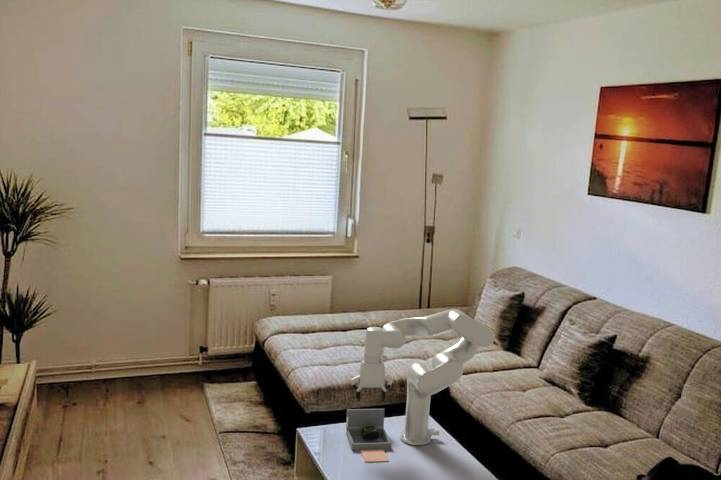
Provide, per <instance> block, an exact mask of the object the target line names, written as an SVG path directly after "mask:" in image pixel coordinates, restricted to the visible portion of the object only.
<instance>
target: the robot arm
mask: <svg viewBox="0 0 721 480" xmlns="http://www.w3.org/2000/svg"><path fill="white" fill-rule="evenodd" d="M451 332H453V333H455V334H456V335H457V336H460V337H461V339H459V341H458V342H456V343H455V344H454V345H451V346H450V347H448V348H446V349H444V350H442V351H439V352H438V353H437V354H435V355H434V356H433V357H432V358H431V366H432V368H430V366H428V365H427V364H426V363H424V362H419V361H416V362H414V363H413V364H411V365H410V366H409V367H408V370H407V372H406V392H407V393H406V405H405V419H404V430H403V431H401V432H400V434H399V438H400V440H401V441H402V442H404V443H405V444H408V445H412V446H424V445H425V446H426V445H428V444H430V443H431V442H432V436H440V431H439V430H435V428H429V421H430V408H431V407H430V406H431V396H432V395H434V394H438V393H439V392H441V391H443V390H444V389H446V388H448V387H450V386H452V385H453V384H455V383H457V382H458V381H459V380H460V379H461V378H462V376H463V374H464V366H463V365H465V364H466V363H468V362H469V361H471V360H472V359H473V358H474V357H475V355H476V353H477V352H478V349H479V347H480V348H484V349H485V348H489V347H490V346H492V345H493V343H494V342H495V340H496V339H495V338H496V337H495V336H496V335H495V333H494V330H493V329H492V328H490V327H489V326H488V325H486V324H484V323H482V322H481V321H479V320H476V319H474V318H472V317H471V316H470V315H468V314H467V313H464V312H462V311H461V310H460V309H457V308H450V309H447V310H443V311H440V312H436V313H433V314H430V315H426V316H422V317H421V316H418V317H417V316H416V317H407V318H401V319H397V320H394V321H389V322H388V323H385V324H384V325H383V326H382V327H378V326H370V327H368V328H366V330H365V338H364V340H365V341H364V351H363V359H362V360H361V361H360V366H359V370H358V375H357V376H355V377H353V378H351V379H349V382H350V384H351V386H352V388H353V389H354V391H355V395H354V396H355V399H356V400H357V402H361V390H362V389H363V388H381V389H380V394H379V395H380V396H379V397H380V398H379V399H380V401H381V402H384V400H385V399H386V393H387V391H388V390H389V389H390V388H391V386H392V384H393V383H394V381H393V379H392V378H390V377H388V376H386V370H385V369H386V367H385V365H386V364H385V361H384V360H387V355H384V352H385V350H384V349H385V348H387V349H395V350H396V349H400V348H403V347H404V345H405V344H406V342H407V341H406V340H407V339H406V337H409V336H417V337H422V338H433V337H437V336H440V335H443V334H447V333H451ZM357 381H358V382H357ZM355 382H357V385H356V383H355ZM386 382H387V383H386ZM385 383H386V385H385Z"/></svg>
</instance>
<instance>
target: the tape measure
mask: <svg viewBox="0 0 721 480" xmlns="http://www.w3.org/2000/svg"><path fill="white" fill-rule="evenodd" d="M361 434H362V435H361V437H362V439H363V440H366V441H367V440H374V439H375V440H376V439H380V437H381V434H379V431H378V429H377V428H376V427H375V426H372V425H368V426H364V427H363V428H362V431H361Z"/></svg>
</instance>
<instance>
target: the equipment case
mask: <svg viewBox="0 0 721 480" xmlns="http://www.w3.org/2000/svg"><path fill="white" fill-rule="evenodd" d="M345 419H346V422H345V429H346V431H345V436H346V438H347V440H348V444H349V447H350V449H351V451H361V450H379V449H383V450H392V442H391V439H390V437H389V436H388V434H387V432H386V430H385V429H384V425H385V424H384V422H385V408H354V409H353V408H352V409H351V408H349V409H348V408H347V409H346V418H345ZM368 425H372V426H375V427H376V428H377V429H378V431H379V435H381V436H382V437H383V440H384V442H357V443H354V440H353V437H352V436H362V434H361V431H362V428H363V427H364V426H368Z"/></svg>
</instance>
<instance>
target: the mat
mask: <svg viewBox="0 0 721 480" xmlns="http://www.w3.org/2000/svg"><path fill="white" fill-rule="evenodd" d="M360 453H361V455H362V458H363V460H364V462H365V463H385V462H390V460H389V457H388V455H387V454H386V452H385V449H379V450H360Z"/></svg>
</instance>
